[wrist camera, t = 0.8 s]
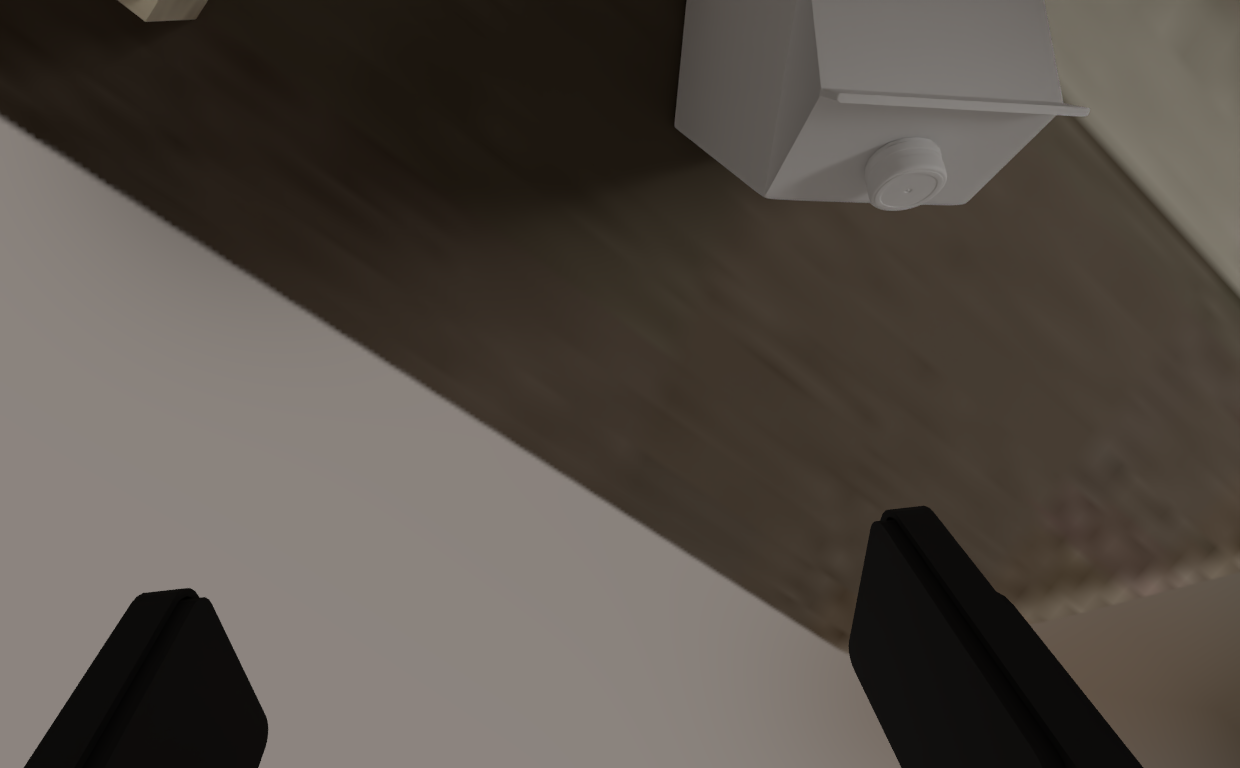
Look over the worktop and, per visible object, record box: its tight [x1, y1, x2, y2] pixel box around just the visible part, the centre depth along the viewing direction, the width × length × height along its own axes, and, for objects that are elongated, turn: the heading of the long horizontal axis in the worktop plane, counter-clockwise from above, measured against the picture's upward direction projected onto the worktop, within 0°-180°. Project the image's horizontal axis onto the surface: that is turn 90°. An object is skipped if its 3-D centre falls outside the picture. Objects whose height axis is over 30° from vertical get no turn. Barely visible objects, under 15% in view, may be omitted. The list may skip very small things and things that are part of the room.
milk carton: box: [674, 0, 1090, 211], centre depth 26 cm, size 7×7×19 cm
